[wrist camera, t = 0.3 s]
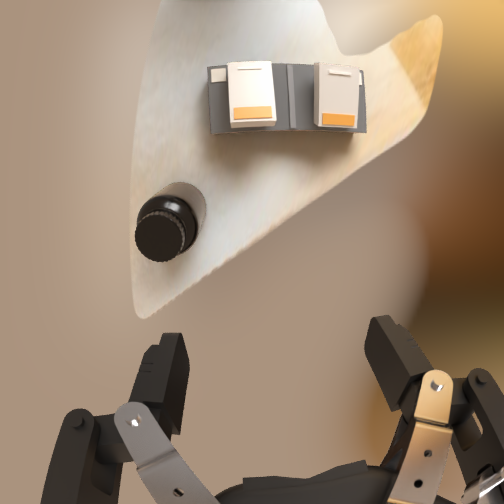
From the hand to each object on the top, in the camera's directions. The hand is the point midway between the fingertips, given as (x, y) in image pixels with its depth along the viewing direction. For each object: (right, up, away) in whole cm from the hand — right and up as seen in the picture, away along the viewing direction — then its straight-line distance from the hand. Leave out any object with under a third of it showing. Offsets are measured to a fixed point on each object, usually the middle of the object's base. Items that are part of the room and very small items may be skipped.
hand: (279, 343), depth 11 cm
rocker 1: (-1, +20, +14) cm, 24 cm away
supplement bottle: (-10, +10, +24) cm, 28 cm away
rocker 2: (+8, +20, +14) cm, 26 cm away
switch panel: (+3, +22, +19) cm, 30 cm away
